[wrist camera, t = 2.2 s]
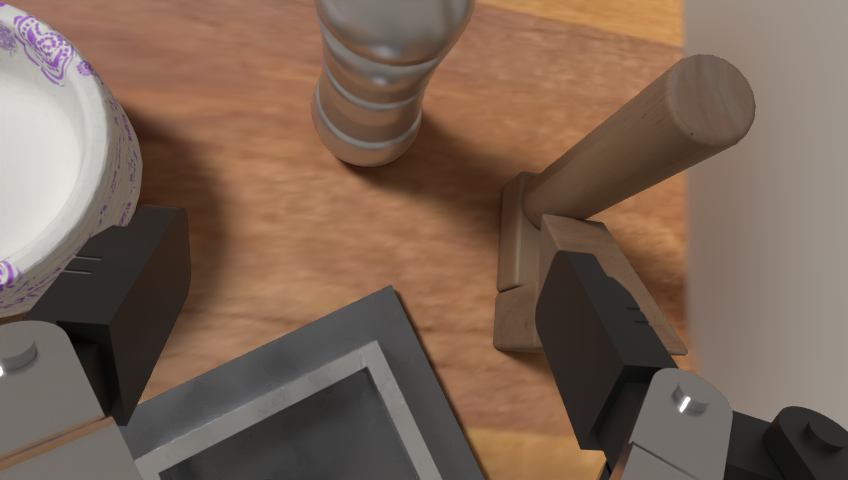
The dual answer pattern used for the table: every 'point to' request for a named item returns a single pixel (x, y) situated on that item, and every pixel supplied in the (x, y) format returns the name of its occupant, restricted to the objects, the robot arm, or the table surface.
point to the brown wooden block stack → (613, 189)
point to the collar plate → (310, 409)
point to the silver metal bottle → (379, 72)
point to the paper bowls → (55, 158)
